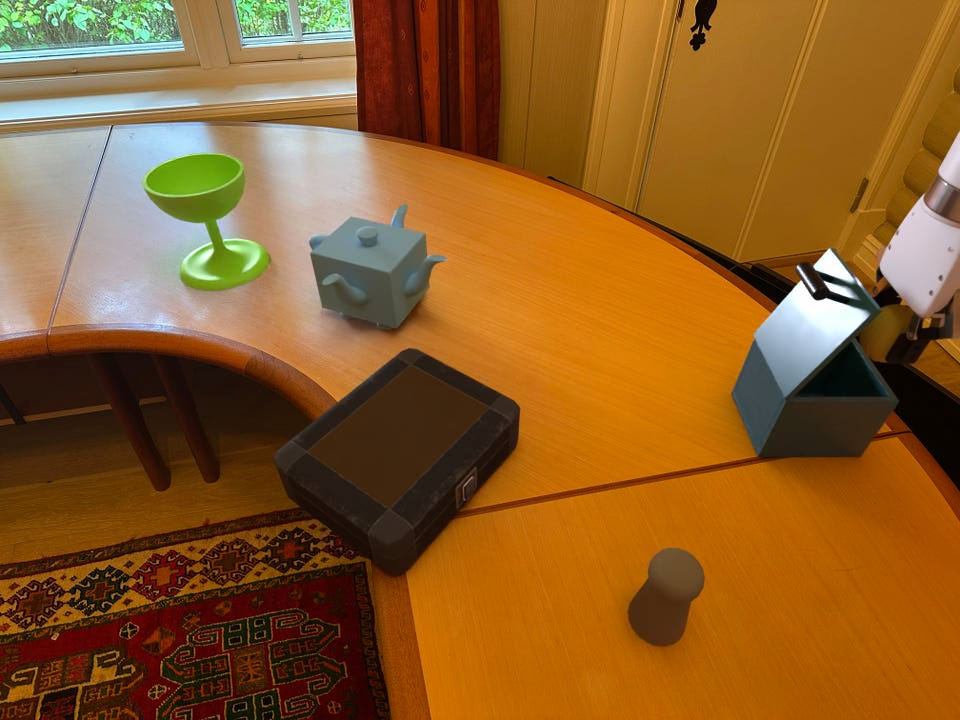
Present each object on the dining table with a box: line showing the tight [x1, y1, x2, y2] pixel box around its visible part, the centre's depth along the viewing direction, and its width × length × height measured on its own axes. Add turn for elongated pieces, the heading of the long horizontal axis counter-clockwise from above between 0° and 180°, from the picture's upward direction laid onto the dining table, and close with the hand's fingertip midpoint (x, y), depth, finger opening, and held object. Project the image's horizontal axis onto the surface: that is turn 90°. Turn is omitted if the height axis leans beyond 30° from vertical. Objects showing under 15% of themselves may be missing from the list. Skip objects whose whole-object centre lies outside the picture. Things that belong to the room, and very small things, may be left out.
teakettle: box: [308, 203, 448, 330], centre depth 98 cm, size 19×19×15 cm
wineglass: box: [141, 152, 271, 292], centre depth 106 cm, size 16×16×18 cm
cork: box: [627, 547, 706, 647], centre depth 61 cm, size 6×6×11 cm
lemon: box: [859, 304, 924, 364], centre depth 68 cm, size 6×6×8 cm
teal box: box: [730, 337, 900, 458], centre depth 80 cm, size 14×12×11 cm
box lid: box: [752, 247, 882, 399], centre depth 71 cm, size 14×12×5 cm
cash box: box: [273, 347, 521, 577], centre depth 76 cm, size 25×20×8 cm
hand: (885, 341), depth 69 cm, fingers closed on lemon, 5 cm apart
